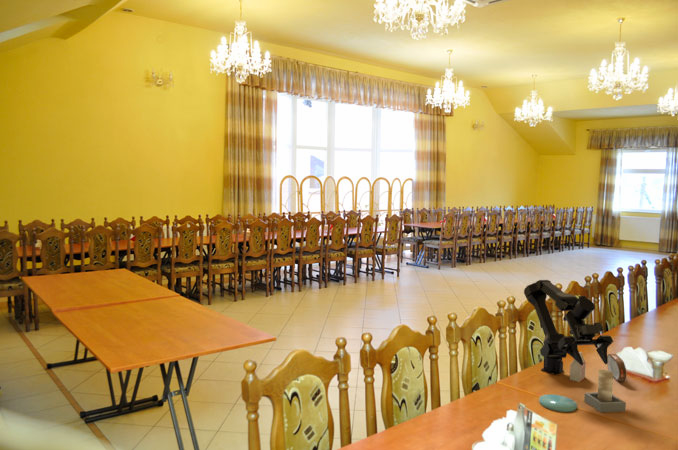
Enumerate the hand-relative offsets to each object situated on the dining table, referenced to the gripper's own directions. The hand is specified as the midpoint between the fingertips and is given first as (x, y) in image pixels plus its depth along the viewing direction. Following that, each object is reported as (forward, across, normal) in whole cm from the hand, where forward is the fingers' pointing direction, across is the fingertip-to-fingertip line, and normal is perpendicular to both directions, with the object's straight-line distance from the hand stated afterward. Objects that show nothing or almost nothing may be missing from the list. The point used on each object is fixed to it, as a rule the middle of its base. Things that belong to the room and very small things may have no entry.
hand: (594, 364), depth 179 cm
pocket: (+13, 0, +4) cm, 14 cm away
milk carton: (-4, +6, +22) cm, 23 cm away
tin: (-4, +22, +22) cm, 31 cm away
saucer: (+11, -15, +6) cm, 20 cm away
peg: (+13, 0, +4) cm, 14 cm away
